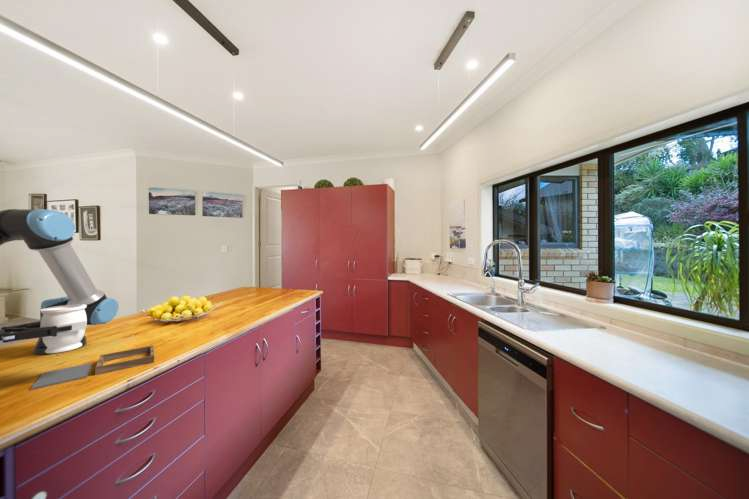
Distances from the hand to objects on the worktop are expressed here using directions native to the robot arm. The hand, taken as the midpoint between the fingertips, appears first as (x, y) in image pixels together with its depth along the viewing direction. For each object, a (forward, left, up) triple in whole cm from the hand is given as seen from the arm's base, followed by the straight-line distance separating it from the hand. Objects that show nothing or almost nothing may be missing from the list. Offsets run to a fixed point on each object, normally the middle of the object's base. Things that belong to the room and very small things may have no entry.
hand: (82, 322), depth 95 cm
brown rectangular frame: (0, +12, -18) cm, 22 cm away
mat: (+1, -4, -18) cm, 18 cm away
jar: (+1, -4, -9) cm, 10 cm away
